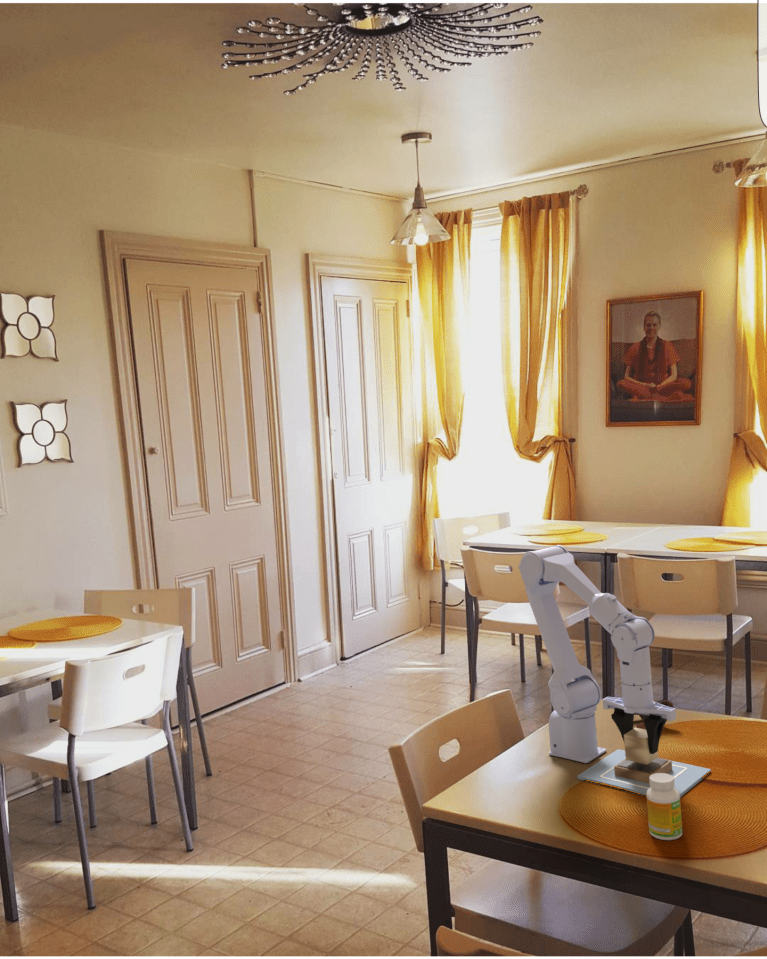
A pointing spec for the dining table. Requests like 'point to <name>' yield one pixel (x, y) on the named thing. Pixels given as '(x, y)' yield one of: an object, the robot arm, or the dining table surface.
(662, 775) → the supplement bottle
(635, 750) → the oak block
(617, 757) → the board
